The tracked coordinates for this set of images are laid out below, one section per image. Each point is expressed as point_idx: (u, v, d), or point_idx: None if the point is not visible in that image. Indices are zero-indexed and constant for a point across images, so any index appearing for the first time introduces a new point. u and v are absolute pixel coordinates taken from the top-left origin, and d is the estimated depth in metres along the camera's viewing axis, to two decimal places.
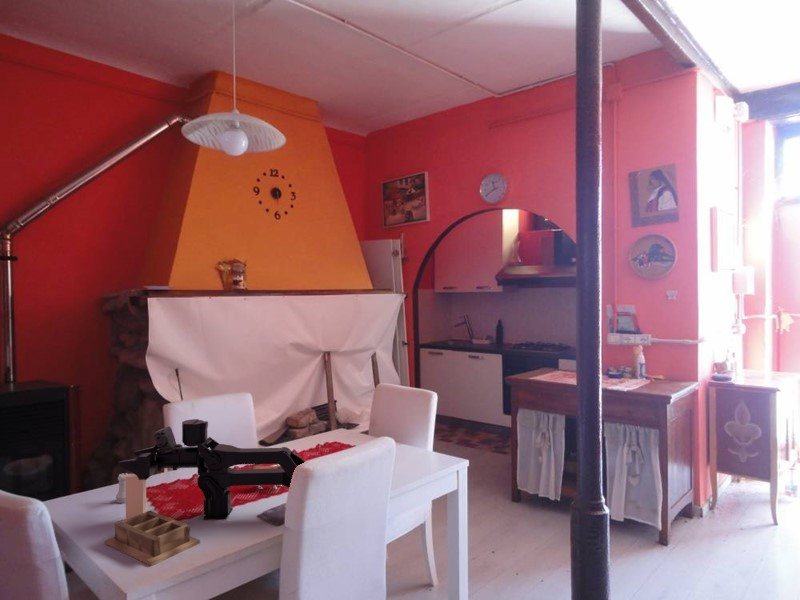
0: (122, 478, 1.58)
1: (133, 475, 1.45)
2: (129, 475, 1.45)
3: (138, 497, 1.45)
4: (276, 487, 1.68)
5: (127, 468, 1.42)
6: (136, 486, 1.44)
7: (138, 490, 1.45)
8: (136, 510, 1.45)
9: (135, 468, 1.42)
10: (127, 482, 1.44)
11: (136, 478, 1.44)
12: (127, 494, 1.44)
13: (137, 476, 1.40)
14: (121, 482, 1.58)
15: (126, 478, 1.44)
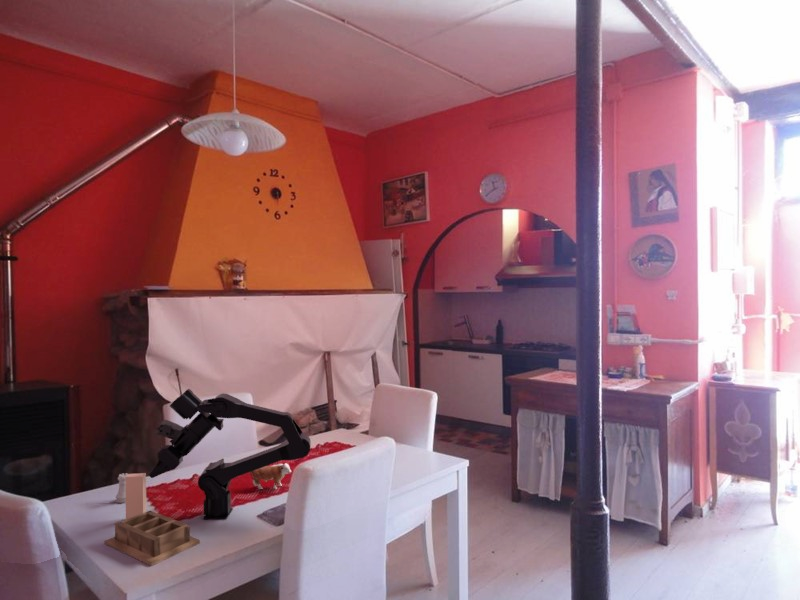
0: (122, 478, 1.58)
1: (133, 475, 1.45)
2: (129, 475, 1.45)
3: (138, 497, 1.45)
4: (276, 487, 1.68)
5: (159, 472, 1.41)
6: (137, 486, 1.44)
7: (138, 490, 1.45)
8: (136, 510, 1.45)
9: (165, 466, 1.41)
10: (127, 482, 1.44)
11: (136, 478, 1.44)
12: (127, 494, 1.44)
13: (171, 469, 1.39)
14: (121, 482, 1.58)
15: (126, 478, 1.44)
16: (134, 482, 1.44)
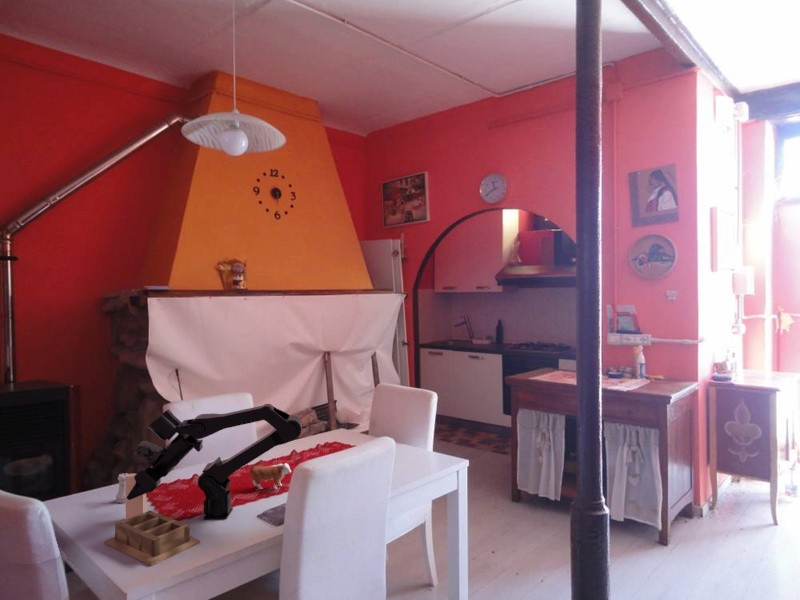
0: (122, 478, 1.58)
1: (133, 475, 1.45)
2: (129, 475, 1.45)
3: (138, 497, 1.45)
4: (276, 487, 1.68)
5: (137, 494, 1.40)
6: None
7: None
8: (136, 510, 1.45)
9: (142, 489, 1.40)
10: (127, 482, 1.44)
11: None
12: (127, 494, 1.44)
13: (148, 491, 1.38)
14: (121, 482, 1.58)
15: (126, 478, 1.44)
16: (134, 482, 1.44)
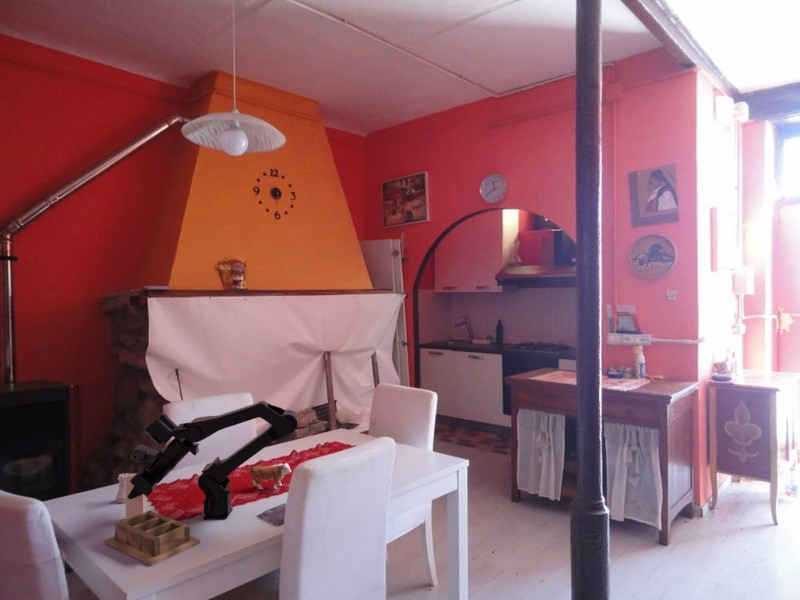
0: (122, 478, 1.58)
1: (133, 475, 1.45)
2: (129, 475, 1.45)
3: (138, 497, 1.45)
4: (276, 487, 1.68)
5: (137, 494, 1.43)
6: None
7: None
8: (136, 510, 1.45)
9: None
10: (127, 482, 1.44)
11: None
12: (127, 494, 1.44)
13: None
14: (121, 482, 1.58)
15: (126, 478, 1.44)
16: None
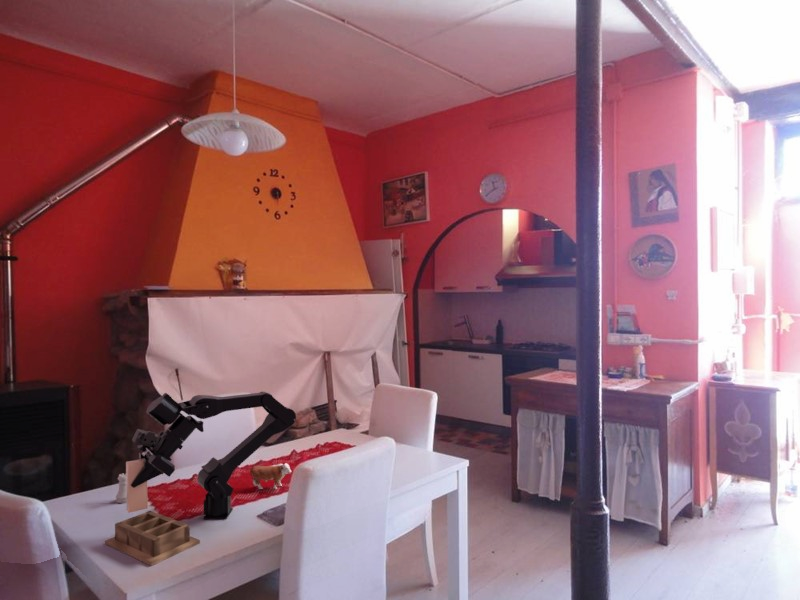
0: (122, 478, 1.58)
1: (134, 461, 1.35)
2: (129, 462, 1.35)
3: (142, 483, 1.36)
4: (276, 487, 1.68)
5: (144, 480, 1.35)
6: None
7: None
8: (140, 498, 1.35)
9: (151, 473, 1.36)
10: (129, 469, 1.34)
11: (140, 464, 1.35)
12: (130, 482, 1.34)
13: (161, 473, 1.35)
14: (121, 482, 1.58)
15: (128, 465, 1.34)
16: (137, 468, 1.35)
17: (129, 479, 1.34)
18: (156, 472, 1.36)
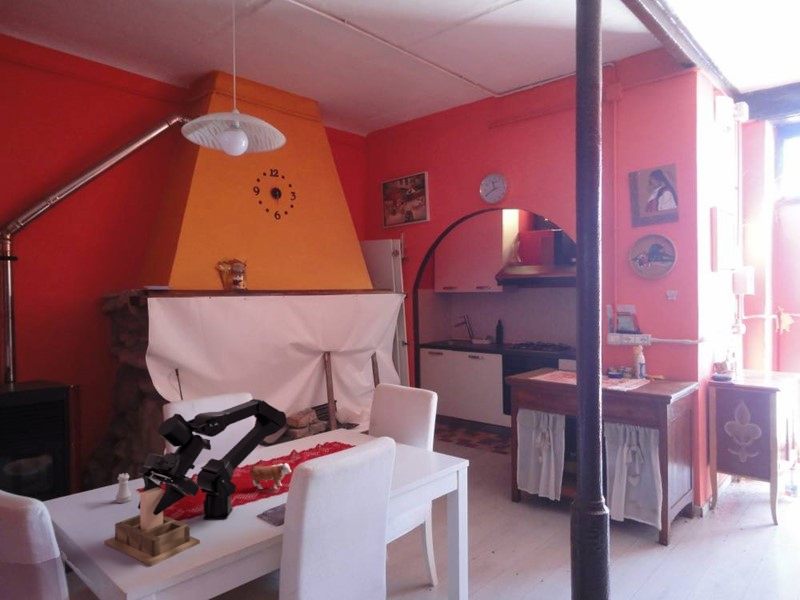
0: (122, 478, 1.58)
1: (150, 491, 1.31)
2: (146, 493, 1.30)
3: (159, 513, 1.32)
4: (276, 487, 1.68)
5: (166, 506, 1.30)
6: (157, 502, 1.31)
7: None
8: None
9: (173, 498, 1.32)
10: (148, 500, 1.29)
11: (157, 493, 1.31)
12: (148, 513, 1.29)
13: (185, 497, 1.32)
14: (121, 482, 1.58)
15: (147, 496, 1.29)
16: (154, 498, 1.31)
17: (147, 510, 1.29)
18: (178, 496, 1.32)
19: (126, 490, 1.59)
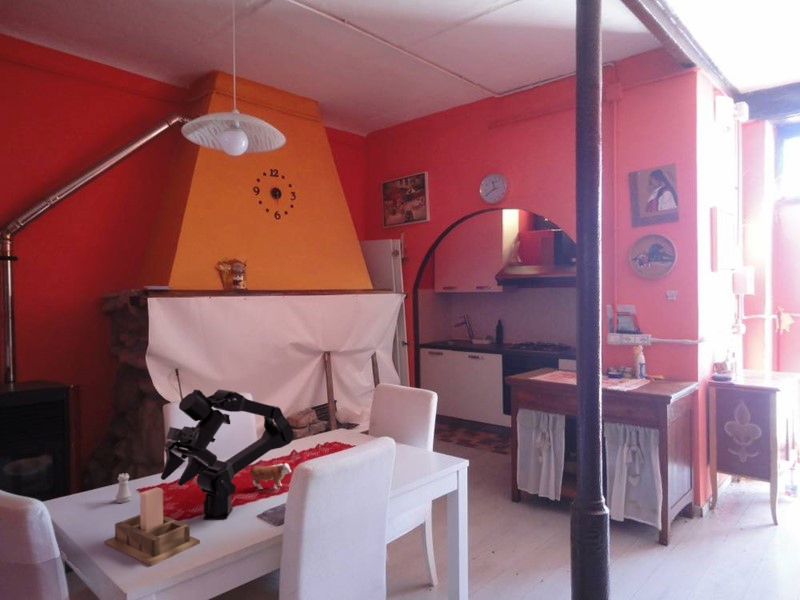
0: (122, 478, 1.58)
1: (150, 491, 1.31)
2: (146, 493, 1.30)
3: (159, 513, 1.32)
4: (276, 487, 1.68)
5: (190, 477, 1.35)
6: (157, 502, 1.31)
7: (158, 506, 1.32)
8: None
9: (196, 469, 1.36)
10: (148, 500, 1.29)
11: (157, 493, 1.31)
12: (148, 513, 1.29)
13: (207, 468, 1.37)
14: (121, 482, 1.58)
15: (147, 496, 1.29)
16: (154, 498, 1.31)
17: (147, 510, 1.29)
18: (201, 468, 1.37)
19: (126, 490, 1.59)
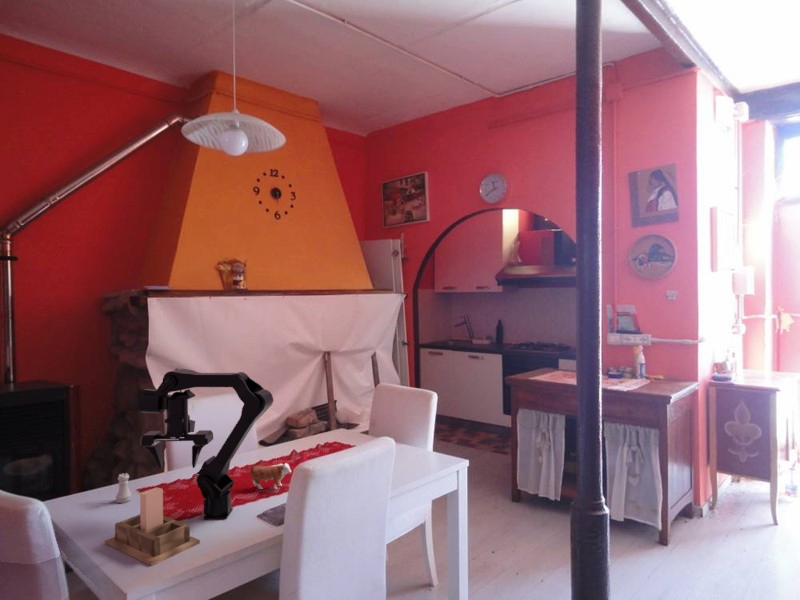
0: (122, 478, 1.58)
1: (150, 491, 1.31)
2: (146, 493, 1.30)
3: (159, 513, 1.32)
4: (276, 487, 1.68)
5: None
6: (157, 502, 1.31)
7: (158, 506, 1.32)
8: None
9: None
10: (148, 500, 1.29)
11: (157, 493, 1.31)
12: (148, 513, 1.29)
13: (145, 448, 1.47)
14: (121, 482, 1.58)
15: (147, 496, 1.29)
16: (154, 498, 1.31)
17: (147, 510, 1.29)
18: None
19: (126, 490, 1.59)
